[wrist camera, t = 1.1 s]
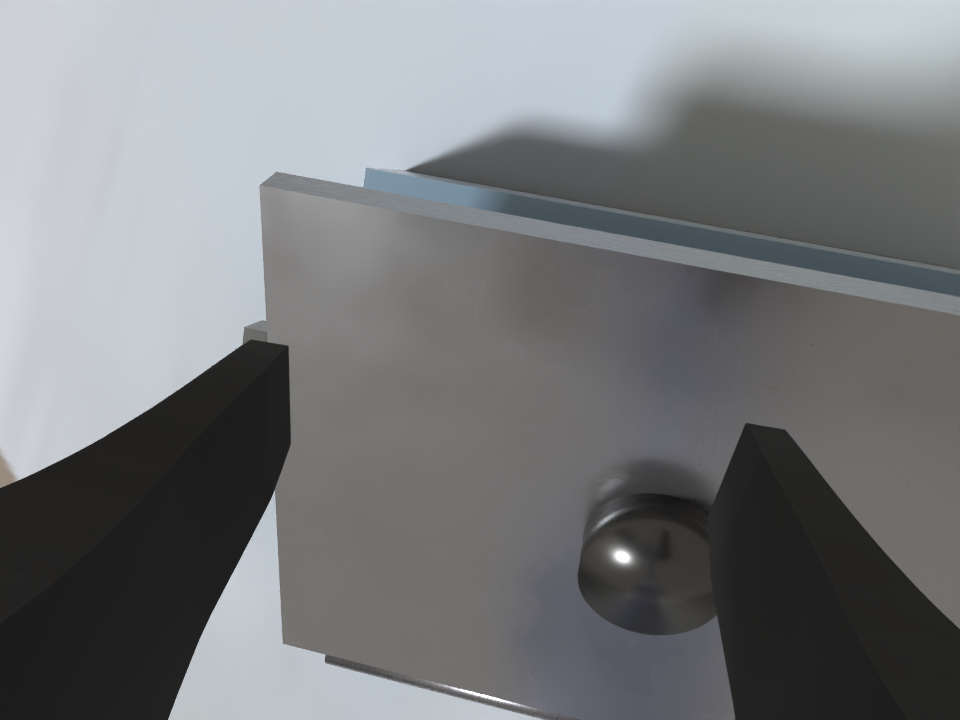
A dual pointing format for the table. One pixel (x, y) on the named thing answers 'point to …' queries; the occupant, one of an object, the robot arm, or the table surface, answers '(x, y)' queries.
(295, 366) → the cabinet door
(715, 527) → the robot arm
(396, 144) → the table surface
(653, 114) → the table surface
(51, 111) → the table surface
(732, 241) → the grey slotted box
